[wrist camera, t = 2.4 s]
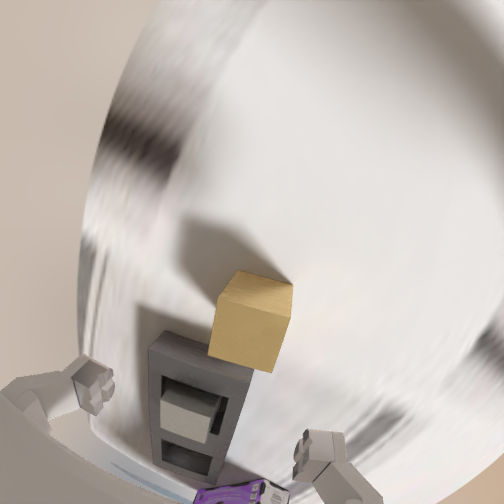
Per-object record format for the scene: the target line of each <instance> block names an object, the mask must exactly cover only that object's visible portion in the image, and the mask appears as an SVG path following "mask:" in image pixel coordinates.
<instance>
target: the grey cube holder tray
mask: <svg viewBox="0 0 504 504" xmlns="http://www.w3.org/2000/svg"><path fill="white" fill-rule="evenodd" d="M208 349H209V346H208V345H205V344H202V343H199V342H196V341H193V340H190V339H187V338H184V337H182V336H179V335H176V334H173V333H170V332H168V331H164V332H163V333H162V334H161V335H160V336H159V338H158V339H157V340H156V341H155V342H154V343H153V344H152V345H151V346H150V348H149V349H148V389H149V416H150V432H151V445H152V455H153V464H155V465H158V466H160V467H162V468H165V469H167V470H170V471H173V472H175V473H178V474H181V475H184V476H186V477H189V478H192V479H195V480H198V481H202V482H205V483H208V484H212V485H215V484H216V482H217V479H218V476H219V474H220V471H221V468H222V465H223V462H224V460H225V457H226V454H227V451H228V448H229V446H230V443H231V440H232V437H233V434H234V431H235V428H236V425H237V422H238V419H239V416H240V413H241V410H242V407H243V404H244V401H245V398H246V395H247V392H248V389H249V386H250V382H251V379H252V375H253V371H254V369H253V368H250V367H246V366H242V365H239V364H235V363H232V362H229V361H225V360H222V359H219V358H216V357H212V356H209V355H208ZM173 380H176V381H179V382H182V383H185V384H187V385H190V386H193V387H196V388H199V389H202V390H205V391H208V392H211V393H214V394H217V395H220V396H224V397H227V398H229V400H228V403H227V407H226V411H225V413H222V412H219V411H218V412H217V415H216V417H215V420H214V423H213V425H212V428H211V430H210V433H209V435H208V438H207V440H206V443H205V444H204V443H201V442H198V441H195V440H192V439H189V438H186V437H184V436H181V435H178V434H176V433H173V432H171V431H168V430H166V429H163V428H161V422H160V400H161V398H162V396H163V395H164V393H165V392H166V390H167V389H168V387H169V386H170V384H171V383H172V381H173ZM171 442H172V443H174V444H177V445H179V446H182V447H185V448H188V449H191V450H193V451H196V452H199V453H203V454H206V455H209V456H212V457H213V458H210V457H207V456H204V455H201V454H198V453H195V452H192V451H189V450H186V449H183V448H181V447H178V446H175V445H173V444H171Z"/></svg>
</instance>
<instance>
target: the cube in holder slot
mask: <svg viewBox="0 0 504 504" xmlns="http://www.w3.org/2000/svg"><path fill="white" fill-rule="evenodd" d="M221 400H222V396H220V395H217V394H214V393H211V392H208V391H205V390H202V389H199V388H196V387H193V386H190V385H187V384H185V383H182V382H179V381H176V380H173V381H172V383H171V384H170V386H169V387H168V389H167V390H166V392H165V393H164V395H163V396H162V398H161V400H160V422H161V428H163V429H166V430H168V431H171V432H173V433H176V434H178V435H181V436H184V437H186V438H189V439H192V440H195V441H198V442H201V443H204V444H205V443H206V440H207V438H208V435H209V433H210V430H211V428H212V425H213V423H214V420H215V417H216V415H217V412H218V410H219V407H220V404H221Z"/></svg>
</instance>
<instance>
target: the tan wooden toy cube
mask: <svg viewBox="0 0 504 504" xmlns="http://www.w3.org/2000/svg"><path fill="white" fill-rule="evenodd" d="M292 295H293V285H292V284H288V283H284V282H280V281H276V280H273V279H269V278H265V277H261V276H257V275H254V274H250V273H246V272H243V271H239V270H238V271H237V272H236V273H235V275H234V276H233V278H232V279H231V280H230V282H229V283H228V285H227V286H226V287H225V289H224V290H223V292H222V293H221V294H220V296H219V297H218V300H217V306H216V311H215V316H214V322H213V327H212V333H211V338H210V344H209V349H208V355H209V356H212V357H216V358H219V359H222V360H225V361H229V362H232V363H235V364H239V365H242V366H246V367H250V368H253V369H257V370H261V371H265V372H269V373H272V371H273V368H274V365H275V362H276V360H277V357H278V354H279V351H280V348H281V345H282V342H283V339H284V336H285V333H286V330H287V327H288V324H289V321H290V318H291V307H292Z"/></svg>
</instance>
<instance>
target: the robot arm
mask: <svg viewBox="0 0 504 504" xmlns="http://www.w3.org/2000/svg"><path fill="white" fill-rule="evenodd" d="M112 377H113V370H112V369H111V368H109V367H107V366H105V365H103V364H102V363H100V362H98V361H96V360H94V359H92V358H91V357H89V356H87V355H85V354H83V355H80V356H79V357H78V358H77V359H76V360H75V361H73V362H72V363H71V364H70V365H69V366H68V367H66V369H64V370H63V371H62V372H60V371H54V372H49V373H43V374H38V375H31V376H24V377H17V378H16V379H14V380H13V381H12V382H11V383H10V384H8V385H7V386H6V387H5V388H3V389H2V390H1V391H0V504H183V503H180V502H177V501H174V500H171V499H168V498H165V497H163V496H160V495H157V494H155V493H152V492H150V491H148V490H145V489H143V488H141V487H138V486H136V485H134V484H132V483H129V482H127V481H125V480H123V479H121V478H119V477H117V476H115V475H113V474H111V473H109V472H107V471H106V470H104V469H102V468H100V467H98V466H97V465H95V464H93V463H91V462H90V461H88V460H86V459H85V458H83V457H81V456H80V455H78V454H77V453H75V452H74V451H72V450H70V449H69V448H68V447H66V446H65V445H63V444H62V443H60V442H59V441H57V440H56V439H55V438H53V437H52V436H50V435H49V434H50V433H51V432H52V429H51V426H50V424H49V422H48V420H50V419H53V418H56V417H59V416H61V415H64V414H67V413H70V412H72V411H75V410H78V409H80V408H82V409H84V410H85V411H87V412H89V413H91V414H93V415H94V416H97V414H98V413H99V412H100V411H101V410H102V408H103V402H106V401H109V400H110V398H111V397H112V395H113V393H114V389H115V383H114V381H113V380H112ZM294 460H295V462H296V464H295V466H294V467H293V479H292V480H295V481H303V482H312V484H313V486H314V487H315V489H316V491H317V492H318V494H319V495H320V497H321V499H322V500H323V502H324V503H325V504H383V497H382V496H381V495H380V494H379V493H378V492H377V491H376V490H375V489H374V488H373V487H372V485H371V484H370V483H369V482H368V481H367V480H366V479H365V478H364V477H363V476H362V475H361V474H360V473H359V472H358V470H357V469H356V468H355V467H354V466H353V465H352V464H351V463H348V462H347V454H346V447H345V439H344V434H343V433H340V432H330V431H322V430H313V429H306V430H305V432H304V433H303V438H302V439H300V440H299V441H298V443H297V445H296V448H295V452H294Z"/></svg>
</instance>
